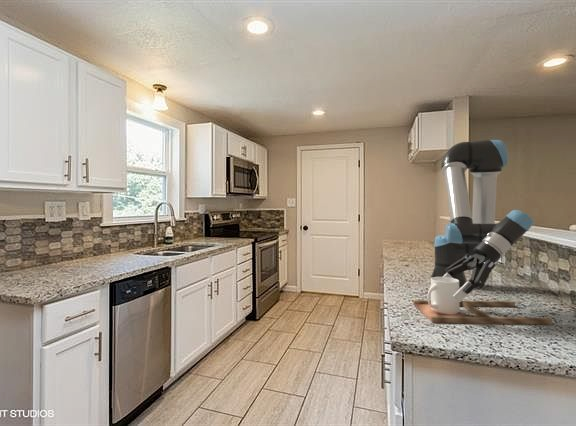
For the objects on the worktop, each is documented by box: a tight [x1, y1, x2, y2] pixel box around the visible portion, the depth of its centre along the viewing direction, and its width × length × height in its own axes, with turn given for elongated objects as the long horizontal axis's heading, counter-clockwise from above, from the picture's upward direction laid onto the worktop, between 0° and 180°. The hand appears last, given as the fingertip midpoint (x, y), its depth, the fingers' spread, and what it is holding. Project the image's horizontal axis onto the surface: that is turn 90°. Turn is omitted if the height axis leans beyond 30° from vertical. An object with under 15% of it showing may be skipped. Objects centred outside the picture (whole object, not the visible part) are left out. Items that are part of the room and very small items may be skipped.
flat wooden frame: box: [412, 299, 553, 325], centre depth 105 cm, size 35×18×2 cm, turn 85°
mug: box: [427, 277, 460, 315], centre depth 106 cm, size 9×12×11 cm
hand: (446, 293), depth 106 cm, fingers open, 13 cm apart
